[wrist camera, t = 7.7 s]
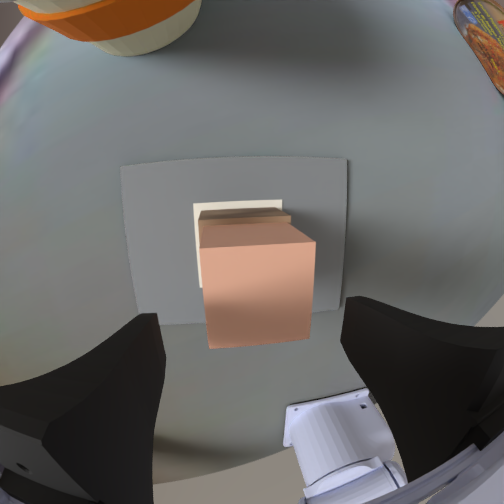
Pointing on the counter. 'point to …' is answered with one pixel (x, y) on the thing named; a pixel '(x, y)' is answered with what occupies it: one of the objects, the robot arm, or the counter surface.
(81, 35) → the reusable coffee cup
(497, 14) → the tin
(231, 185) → the mat
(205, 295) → the terracotta block
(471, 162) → the counter surface
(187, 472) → the counter surface
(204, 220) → the walnut block
